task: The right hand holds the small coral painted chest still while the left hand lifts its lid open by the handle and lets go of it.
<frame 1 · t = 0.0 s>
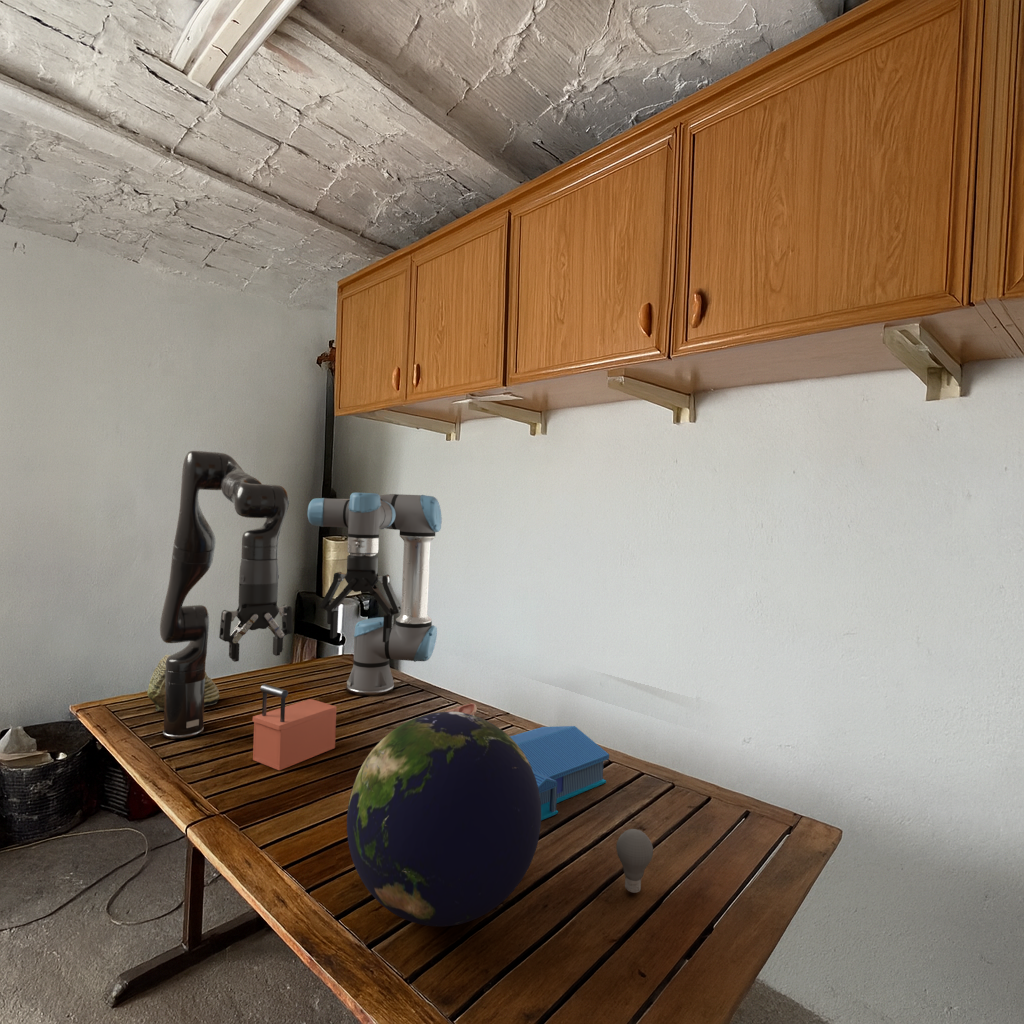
left hand: (256, 657, 132), 29 cm above the table, tool pointing down, fingers open, 8 cm apart
right hand: (359, 639, 158), 28 cm above the table, tool pointing down, fingers open, 13 cm apart
anatomical model: (452, 720, 183), on the table
light bulb: (632, 891, 106), on the table
model building: (518, 792, 140), on the table
chest: (295, 753, 155), on the table
lid: (296, 698, 155), point 14 cm above the table, hinge at 0.0°
globe: (441, 908, 99), on the table
fossil: (183, 706, 185), on the table
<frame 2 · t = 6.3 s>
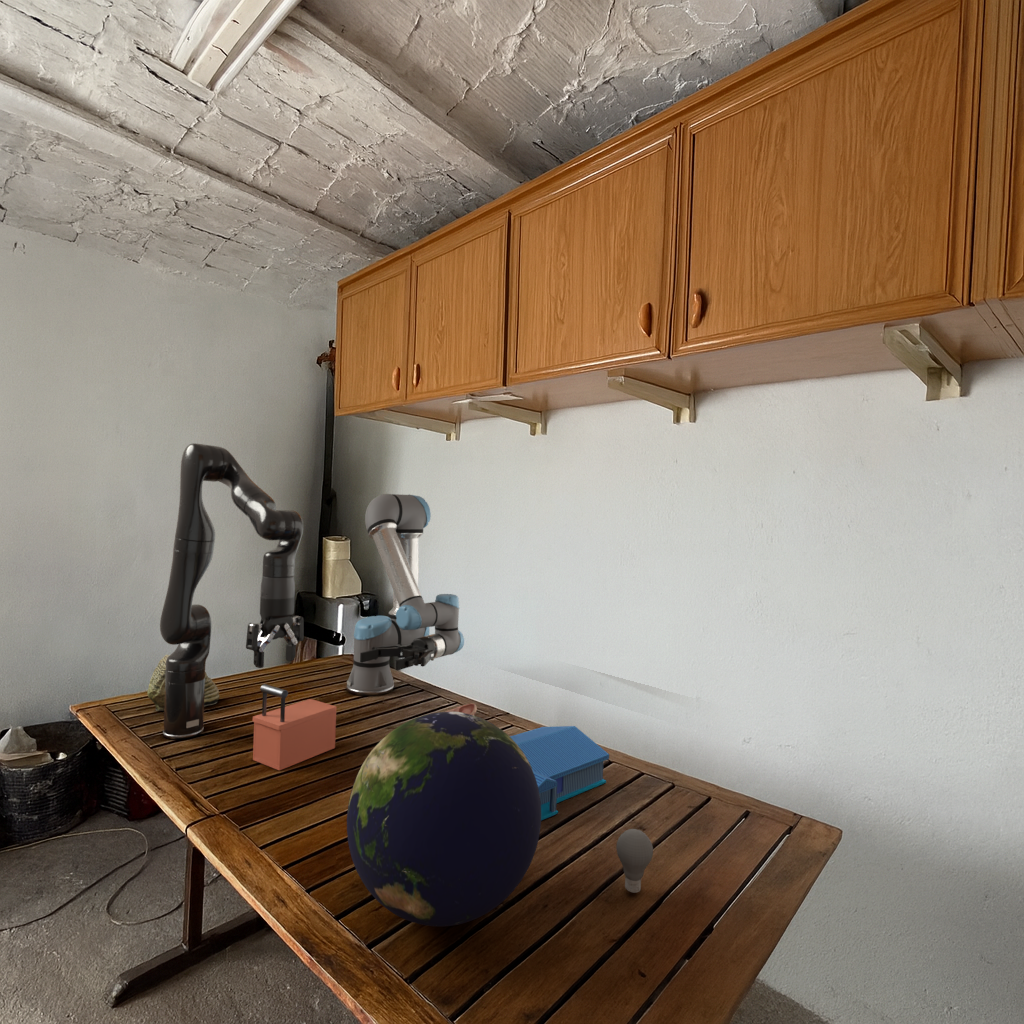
left hand: (275, 663, 149), 24 cm above the table, tool pointing down, fingers open, 8 cm apart
right hand: (378, 661, 178), 17 cm above the table, tool horizontal, fingers open, 13 cm apart
nothing on the table moved.
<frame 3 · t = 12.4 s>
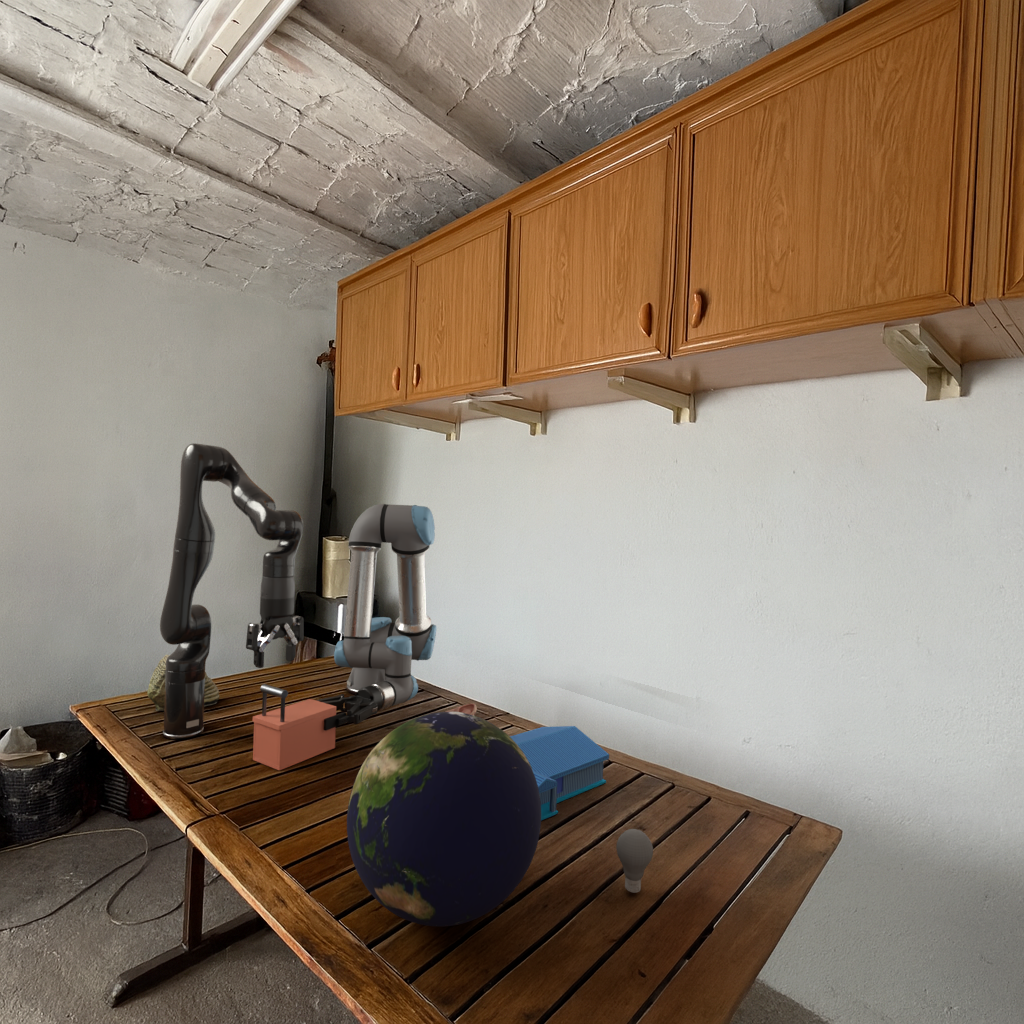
left hand: (275, 663, 149), 24 cm above the table, tool pointing down, fingers open, 8 cm apart
right hand: (310, 720, 159), 7 cm above the table, tool horizontal, fingers closed on chest, 10 cm apart
chest: (295, 753, 155), on the table, touching right hand
everything else where it was.
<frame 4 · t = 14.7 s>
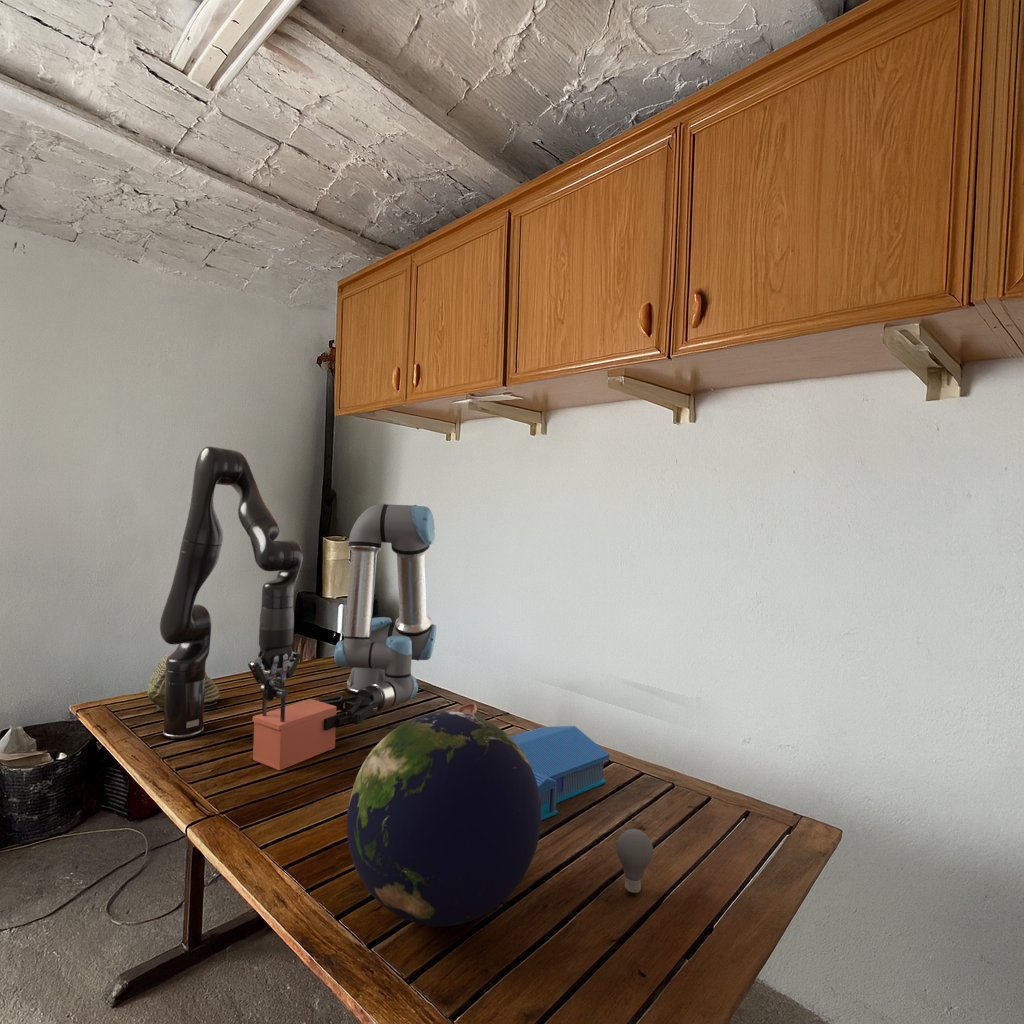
left hand: (273, 698, 149), 15 cm above the table, tool pointing down, fingers closed on lid, 2 cm apart
right hand: (310, 720, 159), 7 cm above the table, tool horizontal, fingers closed on chest, 10 cm apart
chest: (295, 753, 155), on the table, touching right hand
lid: (296, 698, 155), point 14 cm above the table, hinge at 0.1°, touching left hand
everything else where it was.
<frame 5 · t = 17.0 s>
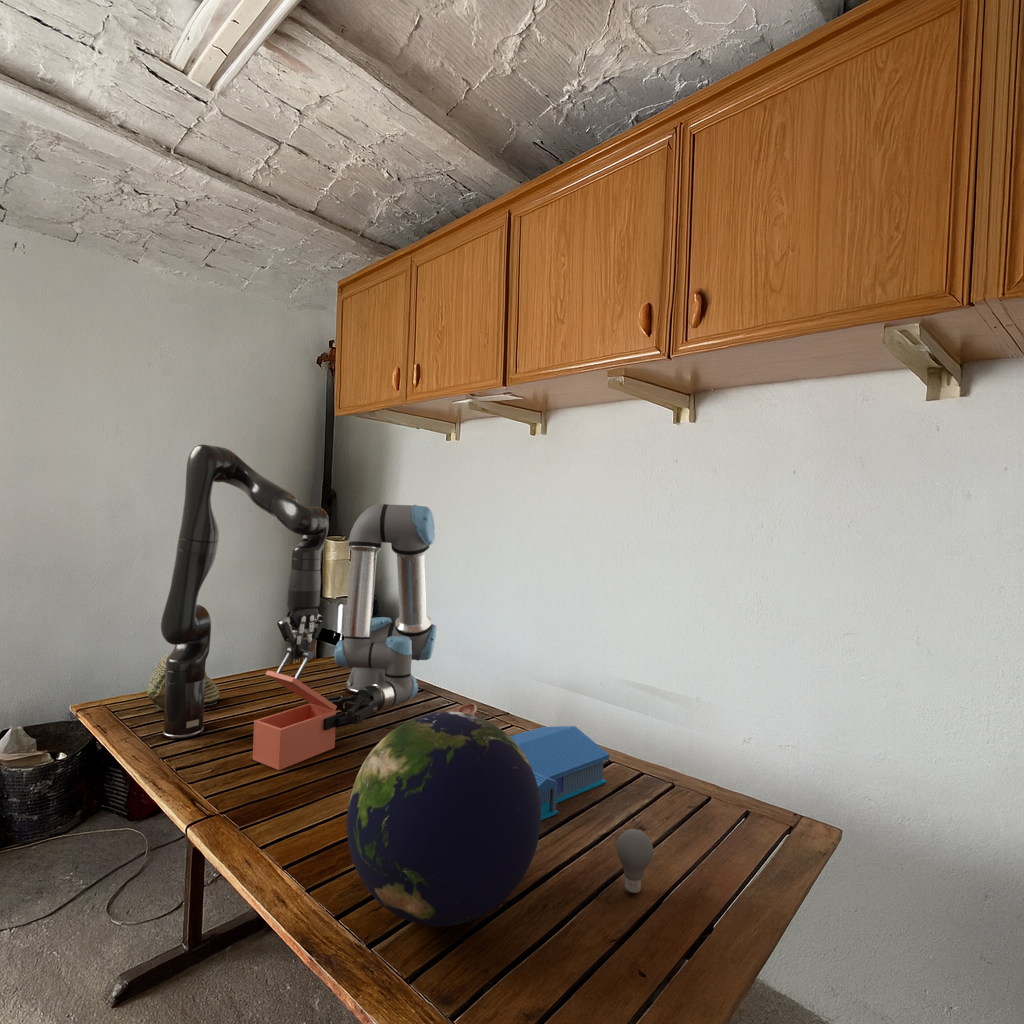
left hand: (300, 657, 155), 24 cm above the table, tool pointing down, fingers closed on lid, 2 cm apart
right hand: (310, 719, 159), 7 cm above the table, tool horizontal, fingers closed on chest, 10 cm apart
chest: (294, 753, 155), on the table, touching right hand
lid: (309, 676, 158), point 18 cm above the table, hinge at 37.0°, touching left hand
everything else where it was.
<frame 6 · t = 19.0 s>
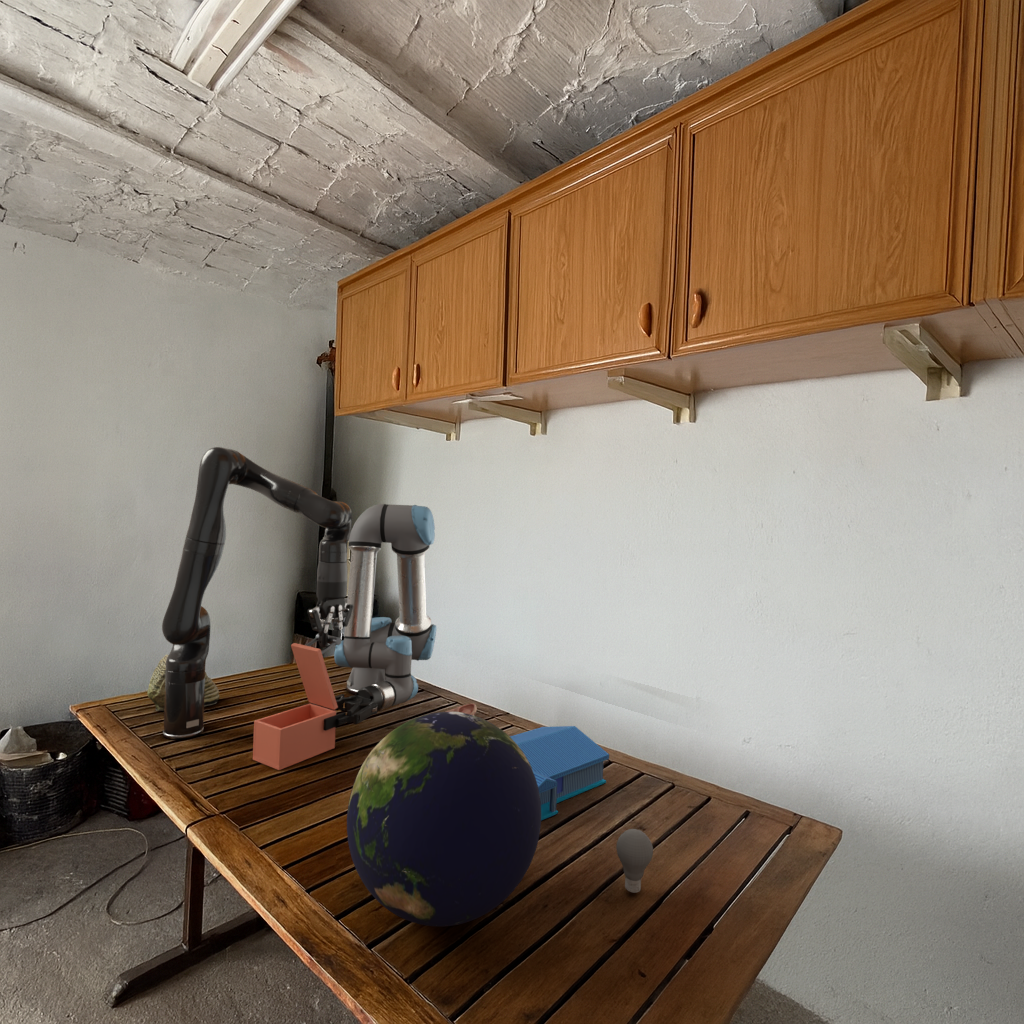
left hand: (329, 645, 163), 25 cm above the table, tool pointing down, fingers open, 3 cm apart
right hand: (310, 720, 159), 7 cm above the table, tool horizontal, fingers closed on chest, 10 cm apart
chest: (294, 753, 155), on the table, touching right hand
lid: (325, 668, 162), point 19 cm above the table, hinge at 68.0°
everything else where it was.
when the right hand's fingers open (7 cm above the table, at t = 22.8 s): chest stays where it is, on the table.
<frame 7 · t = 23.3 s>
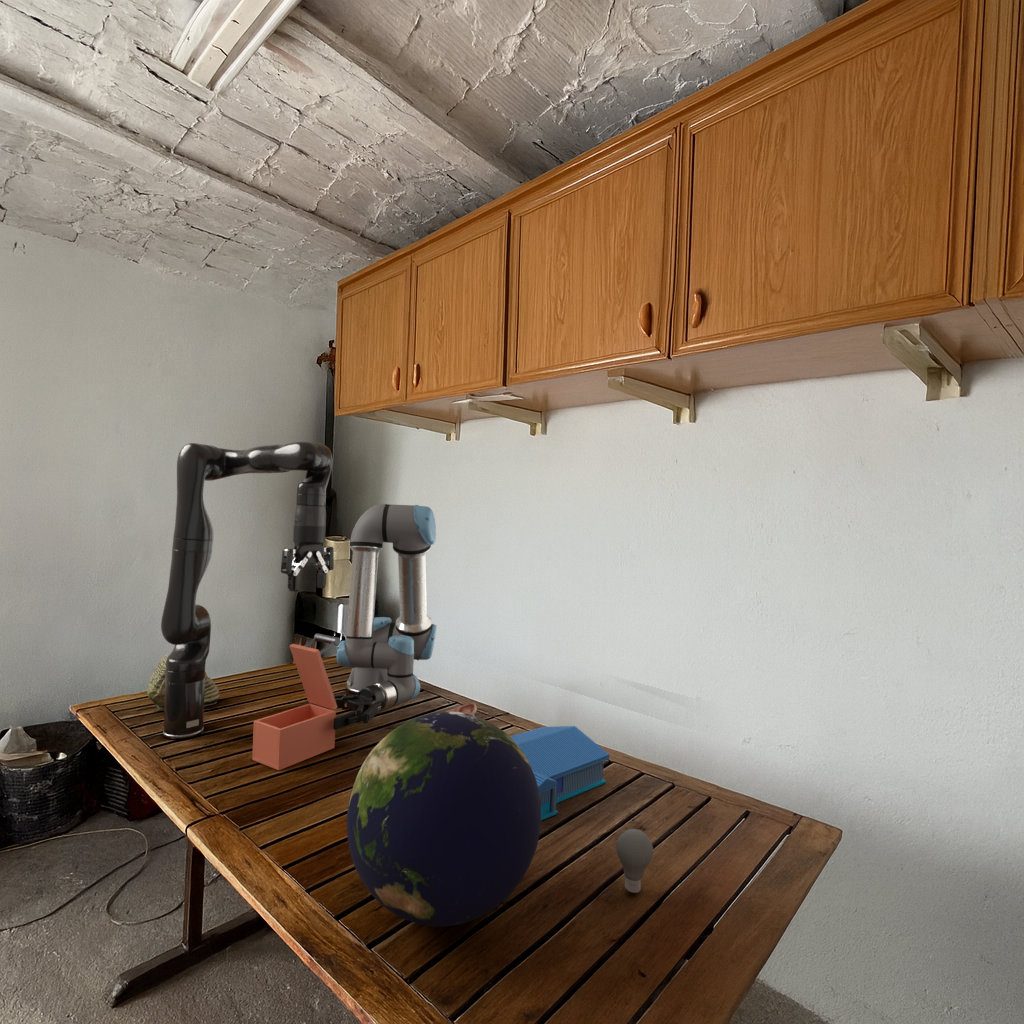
left hand: (307, 589, 156), 40 cm above the table, tool pointing down, fingers open, 8 cm apart
right hand: (315, 718, 160), 7 cm above the table, tool horizontal, fingers open, 13 cm apart
chest: (294, 753, 155), on the table
lid: (324, 668, 162), point 19 cm above the table, hinge at 67.0°
everything else where it was.
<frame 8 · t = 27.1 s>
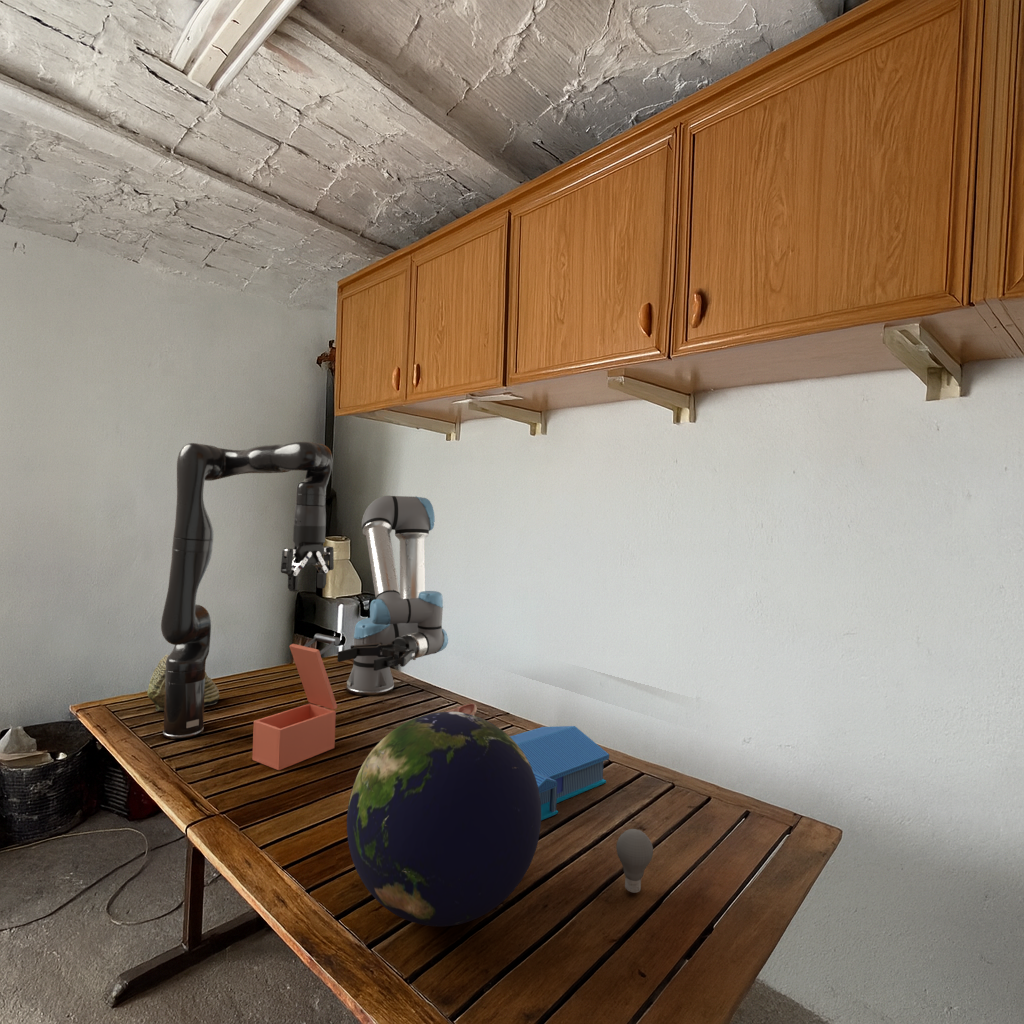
left hand: (307, 589, 156), 40 cm above the table, tool pointing down, fingers open, 8 cm apart
right hand: (356, 661, 171), 19 cm above the table, tool horizontal, fingers open, 13 cm apart
nothing on the table moved.
at the end: lid at +67° (first picture: +0°); the left hand is holding nothing; the right hand is holding nothing; chest tilted 0°; chest never tilted more than 1° during the clip; chest moved 0.1 cm from its start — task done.
